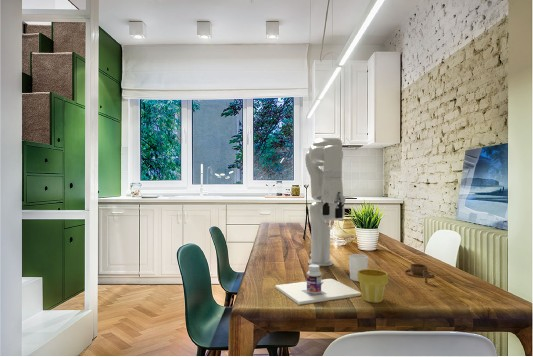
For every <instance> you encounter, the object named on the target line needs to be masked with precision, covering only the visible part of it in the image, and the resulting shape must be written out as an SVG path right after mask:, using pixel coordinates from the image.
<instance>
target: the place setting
mask: <svg viewBox="0 0 533 357" xmlns="http://www.w3.org/2000/svg"><path fill="white" fill-rule="evenodd" d="M410 272H411V273H412V274H411V273H410ZM397 273H398V274H400V271H398V272H397ZM404 274H405V275H407V276H410V277H413V278H424V283H425V284H428V279H429V278H433V277H434V273H433V272H432V271H428V266H427V265H426V264H421V263H412V264H410V269H405V270H404Z"/></svg>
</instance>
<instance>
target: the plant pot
mask: <svg viewBox="0 0 533 357" xmlns="http://www.w3.org/2000/svg"><path fill="white" fill-rule="evenodd" d="M357 282H359V285H360V286H359V287H360V291H361V297H362V299H363V301H365V302H367V303H368V302H369V303H381V302H382V301H383V298H384V295H385V291H386V290H385V289H386V285H387V284H388V283H389V273H388V272H387V271H385V270H380V269H375V268H374V269H373V268H367V269H362V270H359V271H358V281H357Z"/></svg>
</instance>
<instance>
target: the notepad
mask: <svg viewBox="0 0 533 357" xmlns="http://www.w3.org/2000/svg"><path fill="white" fill-rule="evenodd" d="M274 285H275V284H274ZM274 288H275V289H276V290H277V291H279V292H280V293H282V294H283V295H284V296H285V297H287V298H288V299H290V300H291V301H293V302H294V303H295V304H296V305H299V306H300V305H306V304H312V303H313V304H314V303H319V302H320V303H321V302H327V301H333V300H339V299H340V300H341V299H347V298H354V297H355V298H356V297H359V296H361V297H362V291H361V292H360V291H358V290H356V289H354V288H353V287H350V286H348V285H346V284H344V283H342V282H340V281H338V280H336V279H333V278H326V279H325V278H324V279H321V293H319V294H311V293H308V292H307V281H300V282H292V283H283V284H276V285H275V286H274Z"/></svg>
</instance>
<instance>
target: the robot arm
mask: <svg viewBox="0 0 533 357" xmlns="http://www.w3.org/2000/svg"><path fill="white" fill-rule="evenodd" d="M343 156H344V152H343V143H342V140H341V139H340V138H339V137H319V138H316V139H315V140H314V141H313V143H312V144H311V145H310V146H309V149H308V151H307V152H306V154H305V158H304V159H305V165H306V166H305V167H306V169H307V170H306V171H307V172H308V174H309V178H310V189H311V190H310V191H311V197H312V200H314V202H312V203H311V204H310V205H309V218H310V226H311V230H310V232H311V234H310V235H311V237H310V238H311V239H310V241H311V242H310V243H311V244H310V246H311V247H310V249H311V250H310V252H311V253H309V257H310V259H308V260H307V263H308V264H309V265H312V264H314V265H319V266H320V267H330V266H333V265H334V261H333V260H331V228H330V226H329V225H328V224H327V223H326V221H342V220H344V217H345V202H346V199H347V198H346V197H345V196H344V191H343V187H344V186H343V176H342V175H343ZM320 167H323V170H322V169H321V168H320Z"/></svg>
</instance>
